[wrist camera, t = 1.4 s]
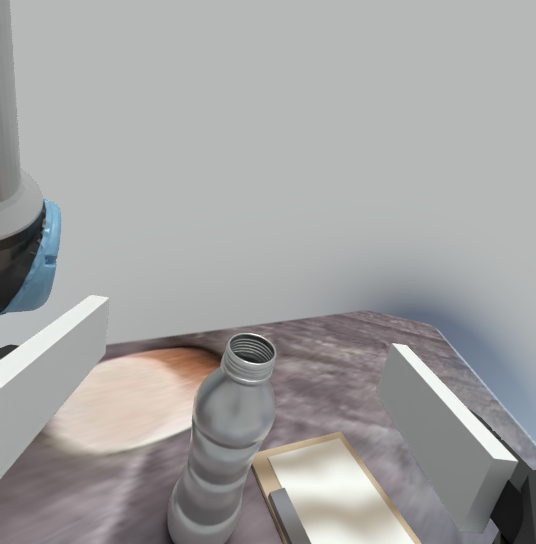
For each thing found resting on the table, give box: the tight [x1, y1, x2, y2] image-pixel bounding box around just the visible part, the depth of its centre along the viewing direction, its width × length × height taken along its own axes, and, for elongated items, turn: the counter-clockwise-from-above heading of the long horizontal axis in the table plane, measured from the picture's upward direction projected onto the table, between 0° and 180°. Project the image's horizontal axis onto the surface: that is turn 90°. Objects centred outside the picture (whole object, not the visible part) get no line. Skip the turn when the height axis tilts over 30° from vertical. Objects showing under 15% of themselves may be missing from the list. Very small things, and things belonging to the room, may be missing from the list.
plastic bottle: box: [167, 333, 276, 544], centre depth 26 cm, size 6×7×20 cm
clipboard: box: [251, 432, 421, 544], centre depth 33 cm, size 18×14×1 cm
